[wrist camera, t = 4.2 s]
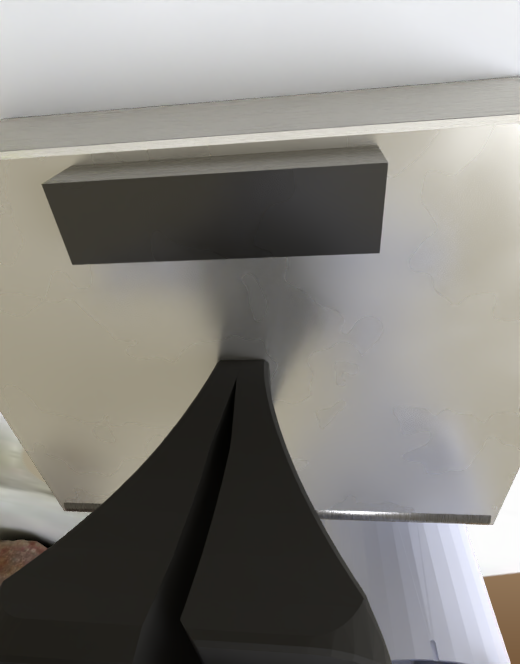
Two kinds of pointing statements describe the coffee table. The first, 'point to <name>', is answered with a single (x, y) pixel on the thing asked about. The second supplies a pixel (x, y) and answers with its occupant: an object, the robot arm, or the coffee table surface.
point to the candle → (17, 555)
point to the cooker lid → (274, 306)
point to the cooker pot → (266, 114)
